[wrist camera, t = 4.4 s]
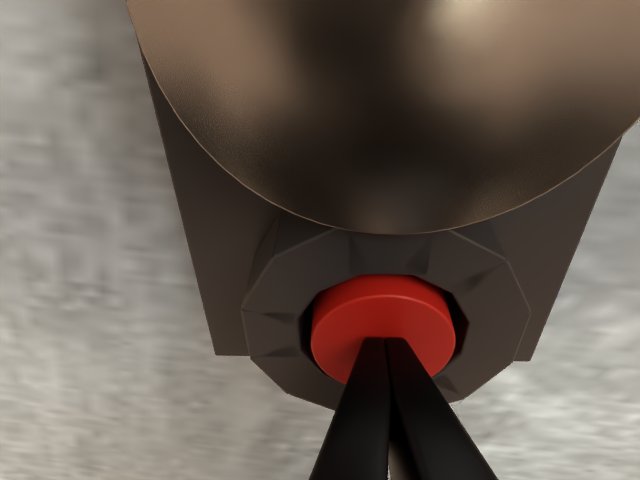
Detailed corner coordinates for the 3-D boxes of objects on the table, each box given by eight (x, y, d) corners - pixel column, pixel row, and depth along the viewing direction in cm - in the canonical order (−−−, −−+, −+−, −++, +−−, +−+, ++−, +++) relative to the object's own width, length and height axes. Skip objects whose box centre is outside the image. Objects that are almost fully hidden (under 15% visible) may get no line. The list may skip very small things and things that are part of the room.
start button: (433, 340, 11) (444, 393, 10) (315, 337, 11) (312, 390, 10) (452, 246, 9) (468, 297, 8) (312, 245, 10) (307, 294, 8)
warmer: (517, 330, 13) (555, 421, 11) (223, 325, 14) (199, 412, 11) (765, -360, 6) (1073, -556, 3) (82, -326, 6) (-88, -480, 4)
